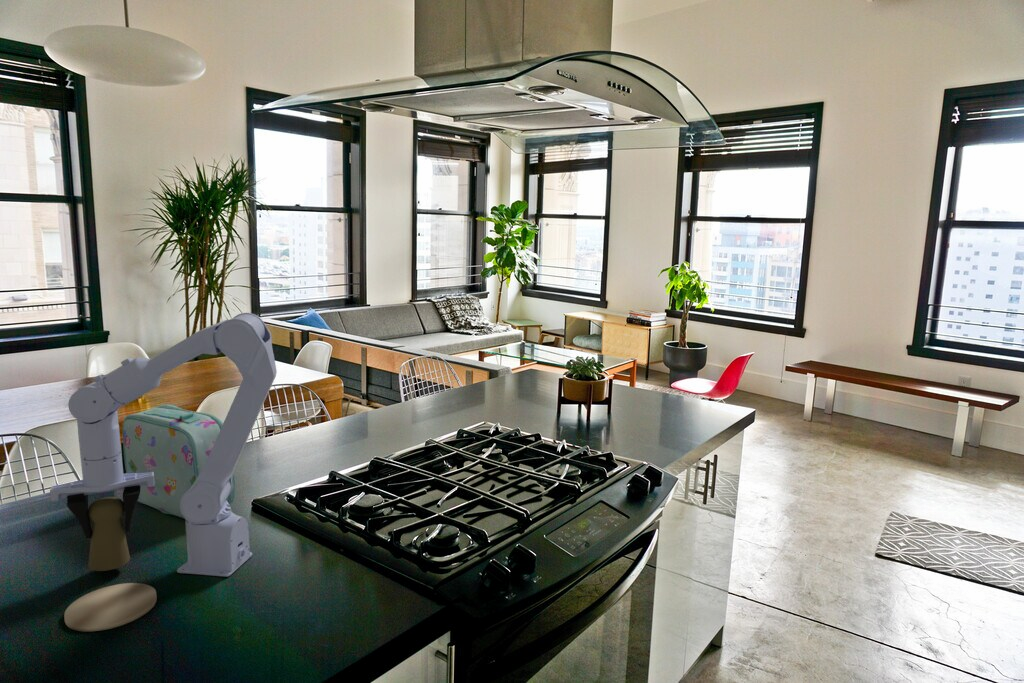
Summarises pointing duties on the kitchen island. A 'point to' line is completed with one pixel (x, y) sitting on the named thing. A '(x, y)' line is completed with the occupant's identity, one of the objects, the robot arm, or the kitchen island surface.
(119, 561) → the pepper shaker
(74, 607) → the cork trivet
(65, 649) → the kitchen island surface
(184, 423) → the lunch box
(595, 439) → the kitchen island surface
